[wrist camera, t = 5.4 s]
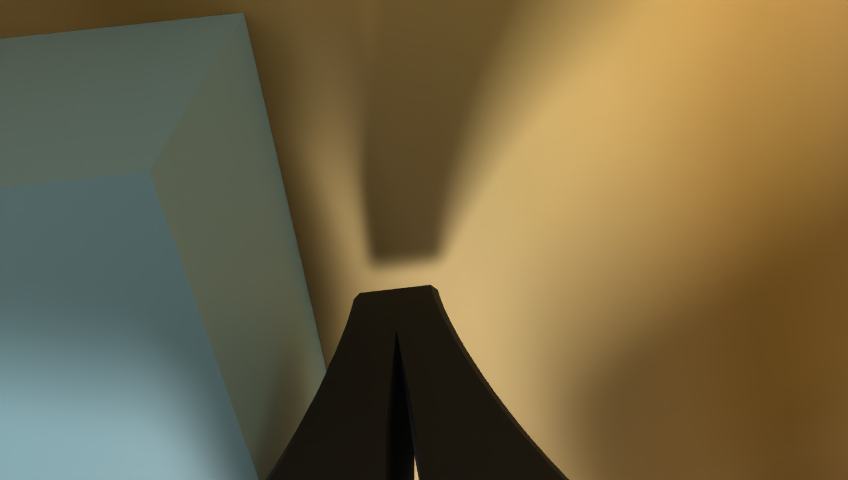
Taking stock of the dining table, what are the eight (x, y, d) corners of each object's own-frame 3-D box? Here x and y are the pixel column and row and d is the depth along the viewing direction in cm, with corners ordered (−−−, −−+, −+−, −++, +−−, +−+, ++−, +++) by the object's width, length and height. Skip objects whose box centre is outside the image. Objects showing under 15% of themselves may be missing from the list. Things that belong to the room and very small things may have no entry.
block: (245, 10, 9) (149, 170, 5) (348, 461, 15) (341, 714, 11) (-321, 71, 9) (-879, 286, 5) (-6, 503, 15) (-151, 775, 11)
